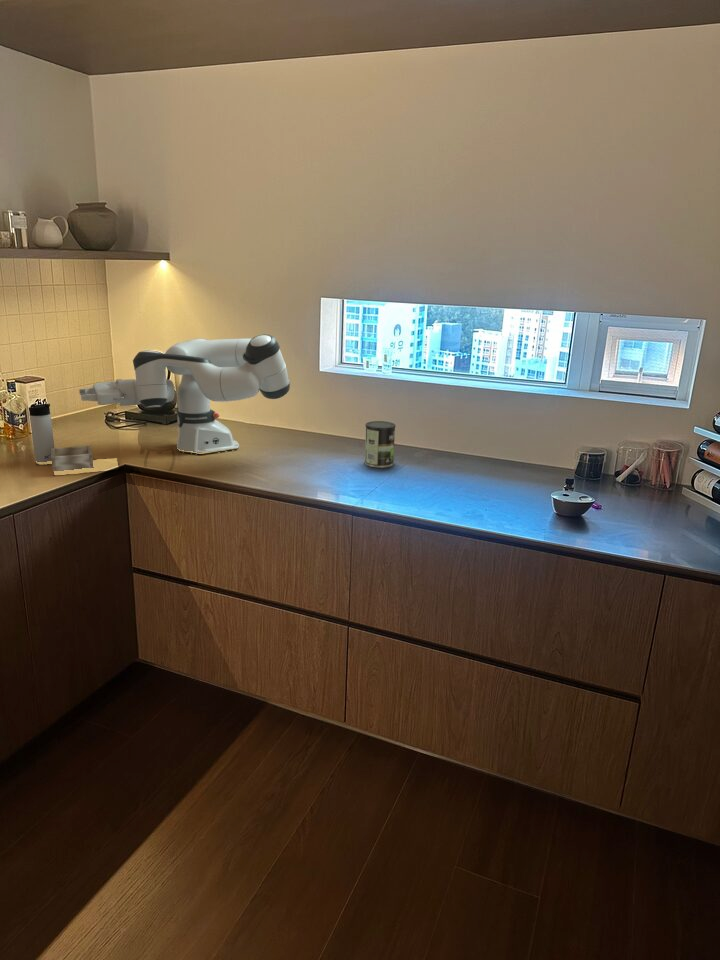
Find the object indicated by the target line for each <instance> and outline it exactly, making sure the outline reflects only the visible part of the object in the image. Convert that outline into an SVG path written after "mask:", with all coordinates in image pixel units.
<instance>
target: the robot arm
mask: <svg viewBox="0 0 720 960" xmlns="http://www.w3.org/2000/svg"><path fill="white" fill-rule="evenodd" d="M280 347H281V346H280V345H279V342H278V340H277V339H276V338H275V337H274V336H273V335H270V334H265V333H264V334H259V335H256V336H254V337H251V338H247V337H246V338H221V339H219V338H217V339H210V340H208V339H205V338H195V339H194V338H193V339H189V340H184V341H181V342H177V343H175V344H173V345H171V346H170V347H169V348H168V349H167V350H166V351H165V353H162V352H159V351H155V350H142V351H139V352H138V353H137V354H136V355H135V356H134V357H133V359H132V364H133V369H134V371H135V378H134V379H133V378H131V379H130V378H129V379H115V381H113V380H112V381H104V382H96V383H93V384H92V387H88V388H87V387H86V388H80V389H79V391H78V393H79V395H80V397H81V401H85V402H86V401H89V402H97V405H100V406H108V405H109V406H110V405H118V404H119V406H120V407H128V406H138V405H142V406H143V407H144V408H145V409H148V408H162V407H163V406H164V405H165V404H166V403H169V402H173V401H174V399H175V395H176V392H177V406H178V409H177V412H176V413H177V414H176V416H177V417H176V418H177V425H178V436H177V441H176V442H177V443H176V447H177V448H178V449H180V450H184V451H193V452H197V453H203V452H202V451H205V452H210V451H218V450H226V449H234V448H238V447H239V448H240V444H239V442H238V441H237V440H235V439H234V438H233V434H232V432H231V429H229V427H227V426H225V424H223V423H221V421H219V420H217V419H219V417H220V414H219V413H218V412H217V411H215V410H213V409H211V401H212V402H219V403H220V402H221V403H224V402H235V401H241V400H246V399H249V398H252V397H255V396H257V395H258V393H259V392H260V393H261V395H262V396H263V398H264V397H265V398H266V399H269V400H279V399H281V398H283V397H285V395H287V394H288V392H289V391H290V385H291V382H290V381H291V380H290V378H289V374H288V373H289V372H288V369H287V365H286V361H285V359H284V356H283V354H282V351H281V349H280ZM166 369H167V370H168V371H169V372H171V374H174V375H179V376H181V380H180V383H179V385H178V387H177V391H176V389H175V384H174V382H173V381H172V380H171V379H168V378H167V373H166Z"/></svg>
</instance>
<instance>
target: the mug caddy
mask: <svg viewBox="0 0 720 960" xmlns="http://www.w3.org/2000/svg"><path fill="white" fill-rule="evenodd" d="M93 459H94V458H93V452H92V447H91V445H81V446H67V447H55V448H52V449H51V460H52V464H51V467H52V473H53V472H54V471H64V470H74V469H82V468H94V467H93Z"/></svg>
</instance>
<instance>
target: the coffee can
mask: <svg viewBox="0 0 720 960" xmlns="http://www.w3.org/2000/svg"><path fill="white" fill-rule="evenodd" d="M395 435H396V424H395V423H393V422H391V421H390V422H389V421H385V420H384V421H383V420H374V421H368V422H366V423H365V442H364V443H365V445H364V447H365V448H364V465H365V466H367V467H371V468H379V469H380V468H382V469H383V468H390V467H392V466H394V465H395V464H394V461H395V460H394V459H395V458H394V456H395V455H394V454H395V439H396V438H395Z"/></svg>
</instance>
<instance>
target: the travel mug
mask: <svg viewBox="0 0 720 960" xmlns="http://www.w3.org/2000/svg"><path fill="white" fill-rule="evenodd" d="M50 407H51V403H39V404H34V405H32V406H29V407H28V412H29V415H28V416H29V422H30V430H31V438H32V444H33V452H34V458H35V461H37V462H47V461H52V460H51V449H52V448H56V447H55V441H54V440H55V439H54V433H53V432H54V431H53V423H52V416H51V411H50V410H51V409H50Z"/></svg>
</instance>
